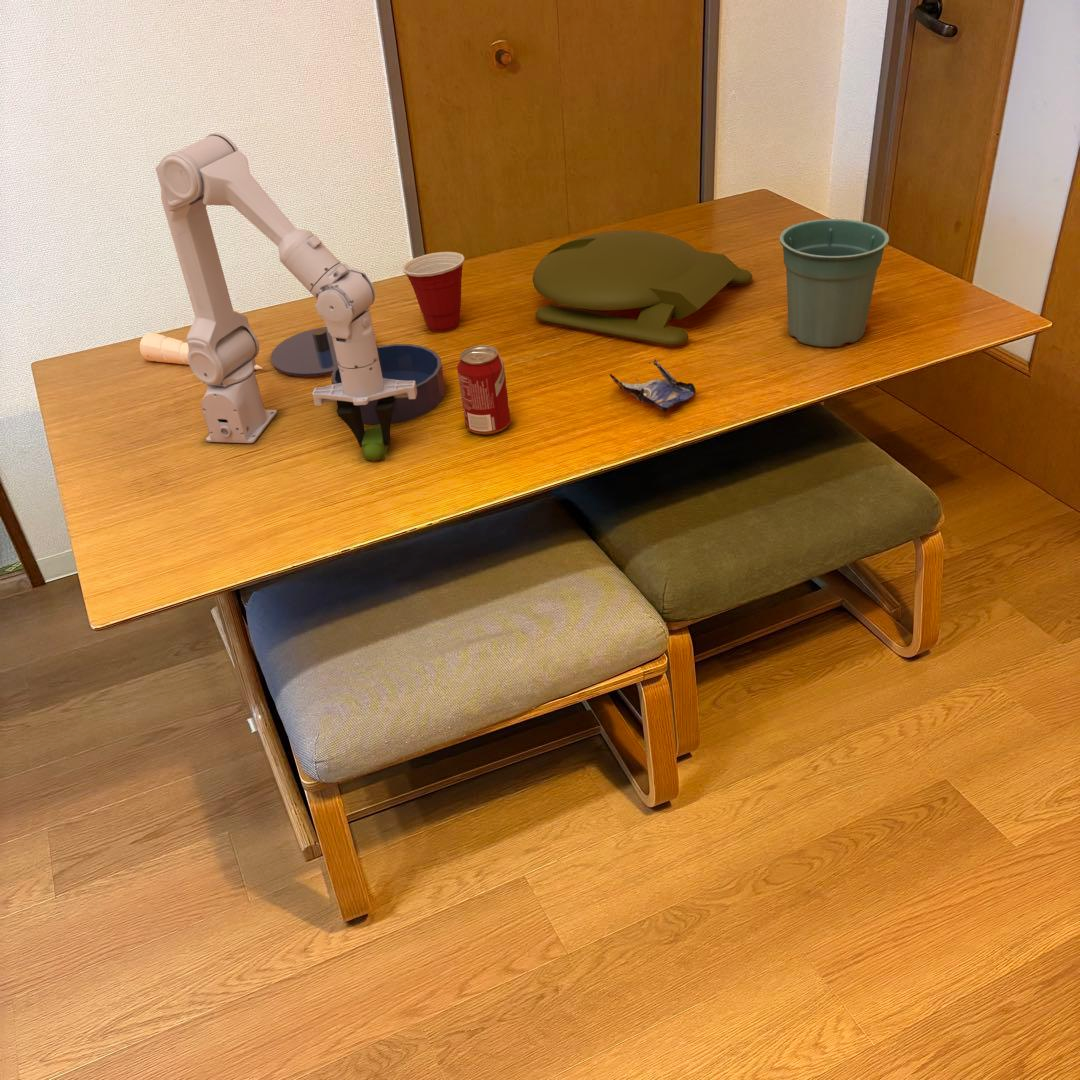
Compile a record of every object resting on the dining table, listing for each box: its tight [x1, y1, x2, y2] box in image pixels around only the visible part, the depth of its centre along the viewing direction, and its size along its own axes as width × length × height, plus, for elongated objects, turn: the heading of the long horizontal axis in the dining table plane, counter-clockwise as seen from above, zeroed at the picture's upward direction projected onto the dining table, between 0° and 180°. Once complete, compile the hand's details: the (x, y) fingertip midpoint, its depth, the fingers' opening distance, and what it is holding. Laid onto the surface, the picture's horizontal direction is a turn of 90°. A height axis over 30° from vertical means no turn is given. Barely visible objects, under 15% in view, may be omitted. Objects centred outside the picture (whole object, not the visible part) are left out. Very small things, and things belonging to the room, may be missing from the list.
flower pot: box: [779, 218, 890, 348], centre depth 173 cm, size 16×16×16 cm
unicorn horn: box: [139, 331, 264, 371], centre depth 187 cm, size 5×24×5 cm, turn 65°
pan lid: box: [270, 326, 338, 377], centre depth 186 cm, size 18×18×4 cm
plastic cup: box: [402, 251, 465, 333], centre depth 190 cm, size 11×11×12 cm
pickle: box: [361, 425, 389, 462], centre depth 159 cm, size 7×3×3 cm, turn 179°
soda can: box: [456, 344, 512, 436], centre depth 159 cm, size 7×7×12 cm
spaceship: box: [532, 229, 753, 348], centre depth 192 cm, size 35×31×10 cm
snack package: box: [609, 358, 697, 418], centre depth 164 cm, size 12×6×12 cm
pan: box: [330, 343, 446, 426], centre depth 172 cm, size 17×17×5 cm
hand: (375, 443), depth 159 cm, fingers closed on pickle, 3 cm apart
